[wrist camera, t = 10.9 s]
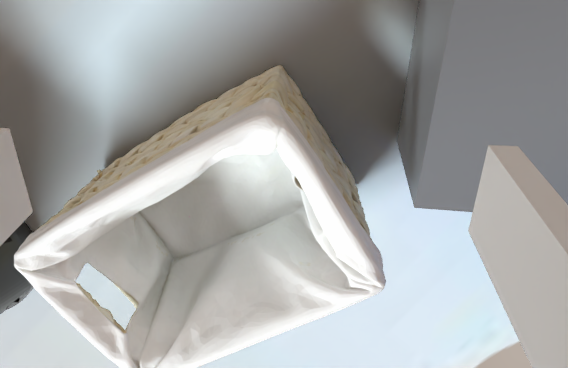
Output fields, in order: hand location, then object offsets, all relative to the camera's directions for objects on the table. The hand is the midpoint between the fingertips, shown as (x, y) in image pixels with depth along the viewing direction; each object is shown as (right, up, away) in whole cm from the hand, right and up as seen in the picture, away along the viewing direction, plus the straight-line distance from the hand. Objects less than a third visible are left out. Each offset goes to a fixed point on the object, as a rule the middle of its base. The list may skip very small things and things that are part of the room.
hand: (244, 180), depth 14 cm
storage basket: (-4, +1, +34) cm, 34 cm away
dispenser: (+16, +10, +26) cm, 32 cm away
